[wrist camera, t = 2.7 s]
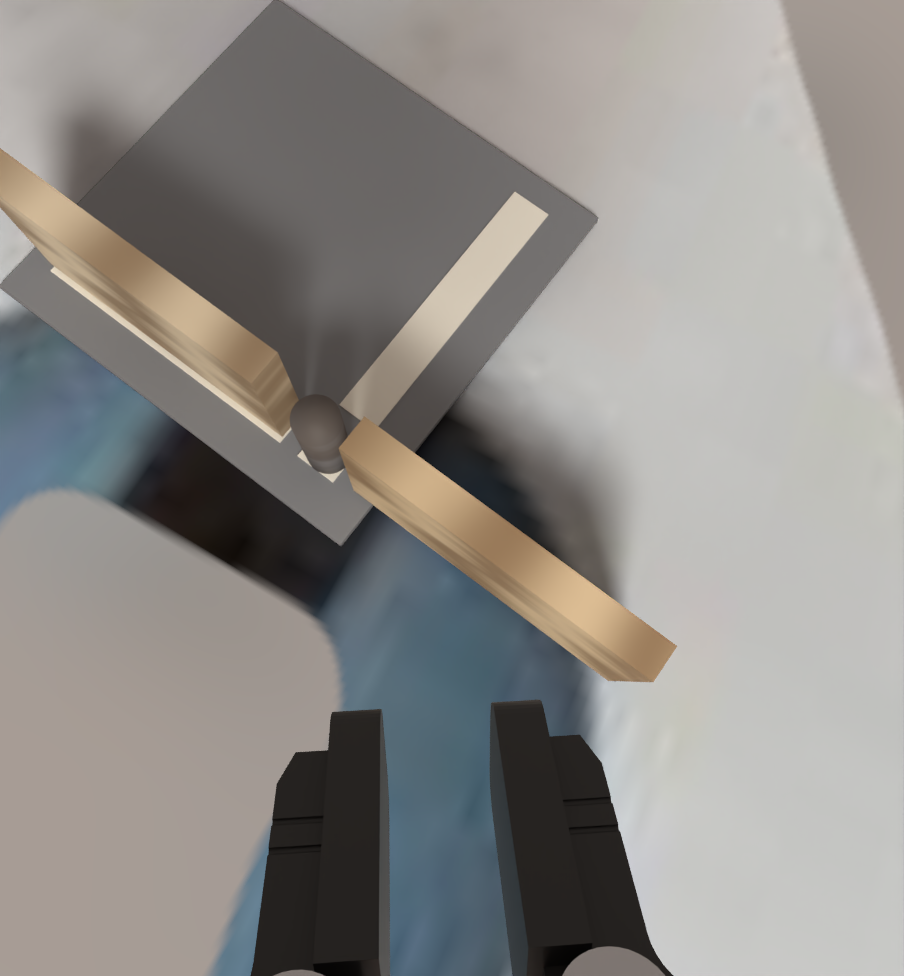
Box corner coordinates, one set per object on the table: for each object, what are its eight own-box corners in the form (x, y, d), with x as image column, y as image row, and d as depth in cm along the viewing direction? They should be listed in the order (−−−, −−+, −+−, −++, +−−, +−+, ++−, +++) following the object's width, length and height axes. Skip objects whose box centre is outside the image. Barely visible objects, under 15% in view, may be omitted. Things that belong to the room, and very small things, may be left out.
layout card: (2, 290, 39) (-3, 285, 39) (277, 4, 43) (275, -4, 42) (341, 546, 37) (340, 545, 36) (596, 222, 41) (598, 216, 40)
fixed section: (54, 276, 39) (-33, 180, 32) (83, 245, 40) (4, 143, 32) (333, 485, 38) (312, 437, 30) (361, 451, 38) (346, 394, 30)
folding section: (353, 490, 37) (338, 448, 30) (374, 463, 37) (364, 416, 30) (608, 680, 35) (652, 682, 29) (627, 651, 36) (676, 646, 29)
